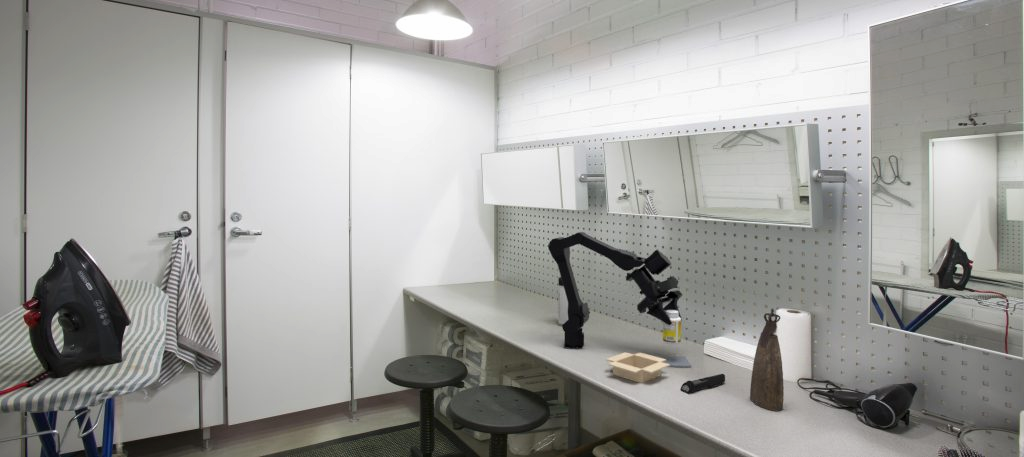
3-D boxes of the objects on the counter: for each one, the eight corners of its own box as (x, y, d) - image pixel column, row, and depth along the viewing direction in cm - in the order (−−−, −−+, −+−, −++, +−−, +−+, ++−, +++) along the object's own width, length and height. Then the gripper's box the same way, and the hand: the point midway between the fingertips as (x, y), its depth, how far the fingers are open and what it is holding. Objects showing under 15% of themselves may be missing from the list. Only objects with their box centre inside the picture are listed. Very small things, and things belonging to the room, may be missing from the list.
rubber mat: (658, 366, 166) (658, 364, 166) (654, 356, 175) (654, 355, 175) (691, 368, 164) (691, 366, 164) (685, 357, 174) (685, 356, 174)
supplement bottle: (675, 339, 173) (676, 308, 172) (684, 344, 167) (684, 312, 166) (659, 340, 172) (660, 309, 171) (667, 345, 166) (668, 313, 165)
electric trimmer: (728, 386, 150) (729, 375, 150) (689, 395, 143) (689, 384, 143) (718, 382, 154) (718, 371, 153) (679, 391, 146) (679, 380, 146)
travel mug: (575, 323, 221) (575, 275, 219) (571, 327, 214) (571, 278, 213) (560, 322, 223) (560, 275, 221) (556, 326, 216) (556, 277, 215)
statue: (788, 403, 137) (788, 308, 134) (780, 413, 131) (780, 315, 128) (753, 395, 142) (752, 304, 140) (744, 405, 136) (743, 311, 134)
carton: (599, 374, 159) (599, 361, 159) (631, 362, 170) (631, 350, 170) (644, 388, 147) (644, 374, 147) (675, 375, 158) (675, 361, 158)
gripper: (645, 271, 164) (676, 312, 157) (677, 265, 177) (707, 303, 169) (624, 293, 171) (653, 333, 163) (657, 285, 183) (685, 323, 176)
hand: (675, 322), depth 168 cm, fingers closed on supplement bottle, 6 cm apart
